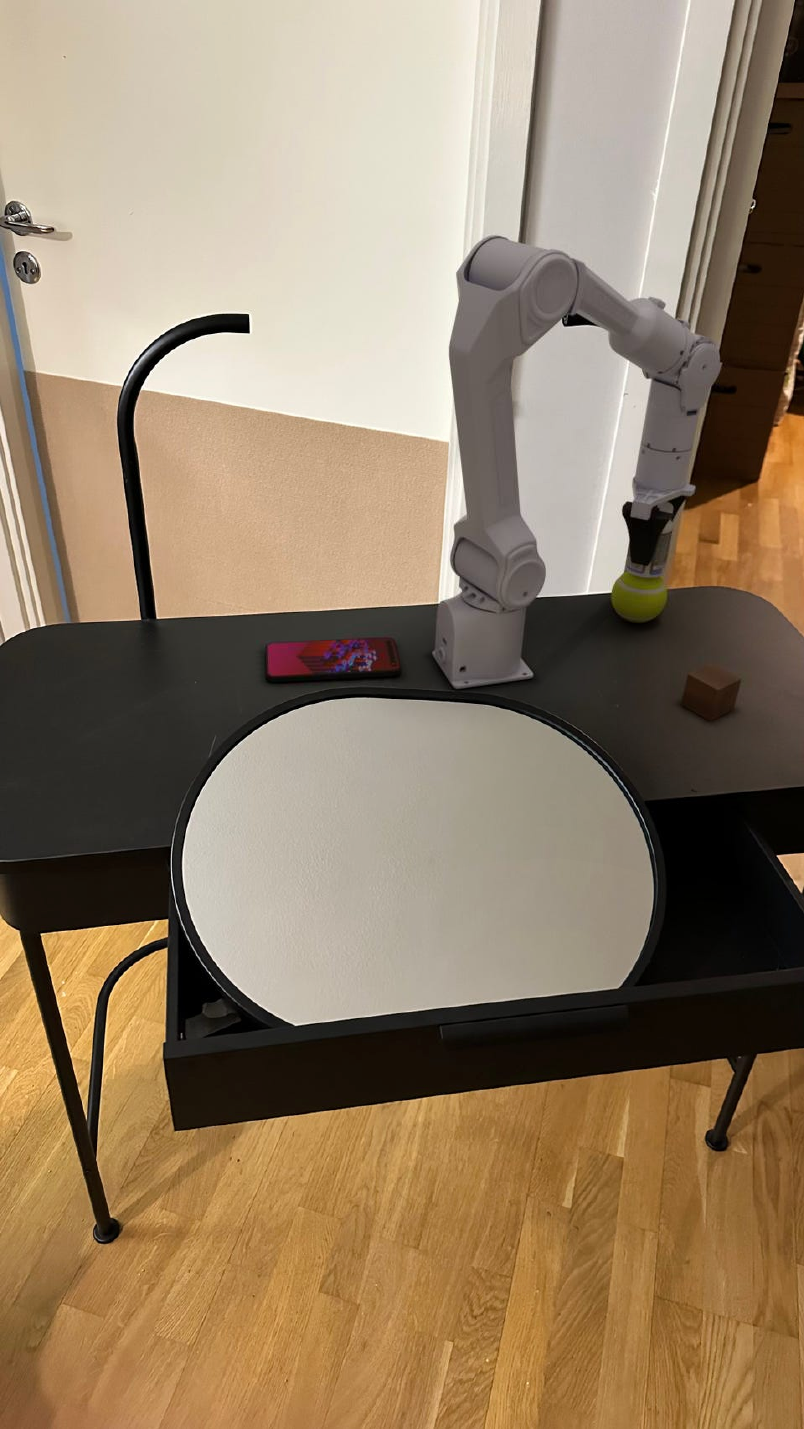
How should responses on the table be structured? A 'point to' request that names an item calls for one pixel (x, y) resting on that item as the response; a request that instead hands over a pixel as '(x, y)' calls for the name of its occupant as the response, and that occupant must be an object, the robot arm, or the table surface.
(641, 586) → the tennis ball
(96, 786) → the table surface
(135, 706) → the table surface
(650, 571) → the pill bottle
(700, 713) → the walnut block
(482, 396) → the robot arm
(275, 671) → the smartphone
